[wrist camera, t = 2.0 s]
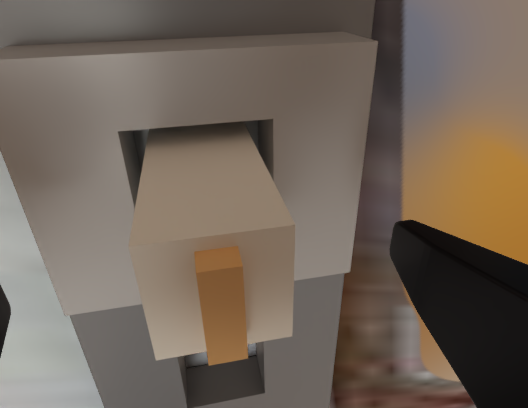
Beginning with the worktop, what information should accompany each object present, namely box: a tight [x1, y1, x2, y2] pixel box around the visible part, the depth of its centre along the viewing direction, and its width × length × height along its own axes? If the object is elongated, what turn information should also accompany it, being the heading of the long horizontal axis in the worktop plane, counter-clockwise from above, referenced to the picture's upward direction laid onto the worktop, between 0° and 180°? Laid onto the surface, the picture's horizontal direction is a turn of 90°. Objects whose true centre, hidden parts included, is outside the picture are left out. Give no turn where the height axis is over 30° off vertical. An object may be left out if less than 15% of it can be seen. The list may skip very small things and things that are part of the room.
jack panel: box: [0, 0, 378, 408], centre depth 17 cm, size 24×12×5 cm, turn 1°
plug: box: [128, 121, 296, 366], centre depth 10 cm, size 3×3×8 cm
